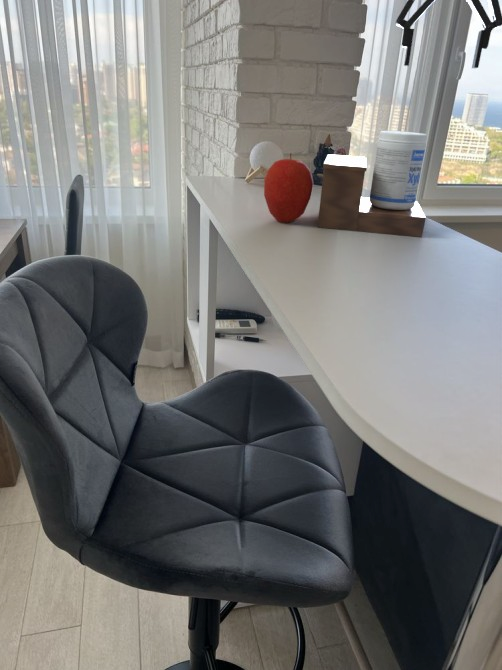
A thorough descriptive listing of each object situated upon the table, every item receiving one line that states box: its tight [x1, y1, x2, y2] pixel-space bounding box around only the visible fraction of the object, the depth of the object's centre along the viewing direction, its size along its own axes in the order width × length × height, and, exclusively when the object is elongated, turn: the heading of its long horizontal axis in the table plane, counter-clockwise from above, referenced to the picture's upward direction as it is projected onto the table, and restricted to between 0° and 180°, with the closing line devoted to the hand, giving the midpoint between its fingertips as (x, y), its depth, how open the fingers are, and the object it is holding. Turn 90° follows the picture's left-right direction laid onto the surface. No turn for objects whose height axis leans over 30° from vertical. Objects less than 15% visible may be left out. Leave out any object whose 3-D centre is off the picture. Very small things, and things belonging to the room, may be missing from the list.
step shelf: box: [317, 154, 427, 238], centre depth 107 cm, size 21×16×13 cm
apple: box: [263, 152, 315, 224], centre depth 105 cm, size 10×10×14 cm
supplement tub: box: [369, 130, 428, 210], centre depth 104 cm, size 10×10×15 cm
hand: (440, 67), depth 104 cm, fingers open, 13 cm apart
